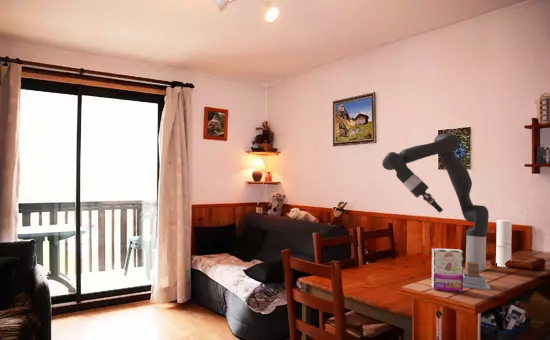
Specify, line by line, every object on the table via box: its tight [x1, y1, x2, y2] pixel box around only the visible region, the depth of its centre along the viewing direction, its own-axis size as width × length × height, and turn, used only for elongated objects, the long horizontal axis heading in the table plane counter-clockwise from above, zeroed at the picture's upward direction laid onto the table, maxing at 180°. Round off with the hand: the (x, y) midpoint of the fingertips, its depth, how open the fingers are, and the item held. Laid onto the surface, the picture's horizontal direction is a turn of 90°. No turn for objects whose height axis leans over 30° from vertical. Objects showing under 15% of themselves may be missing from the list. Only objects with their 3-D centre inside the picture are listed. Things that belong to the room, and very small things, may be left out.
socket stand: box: [463, 272, 491, 291], centre depth 168 cm, size 12×12×4 cm
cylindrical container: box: [495, 219, 513, 268], centre depth 215 cm, size 7×7×25 cm
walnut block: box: [466, 262, 479, 278], centre depth 168 cm, size 4×4×8 cm
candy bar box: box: [431, 247, 464, 293], centre depth 159 cm, size 11×5×16 cm, turn 80°
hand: (441, 210), depth 183 cm, fingers open, 8 cm apart
